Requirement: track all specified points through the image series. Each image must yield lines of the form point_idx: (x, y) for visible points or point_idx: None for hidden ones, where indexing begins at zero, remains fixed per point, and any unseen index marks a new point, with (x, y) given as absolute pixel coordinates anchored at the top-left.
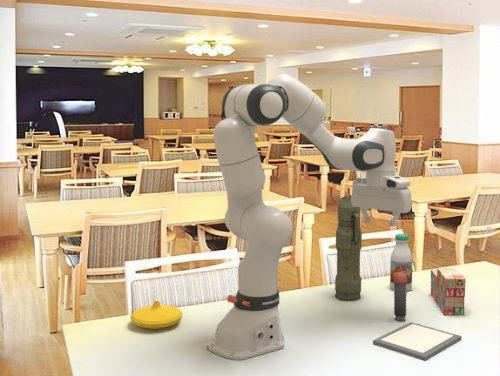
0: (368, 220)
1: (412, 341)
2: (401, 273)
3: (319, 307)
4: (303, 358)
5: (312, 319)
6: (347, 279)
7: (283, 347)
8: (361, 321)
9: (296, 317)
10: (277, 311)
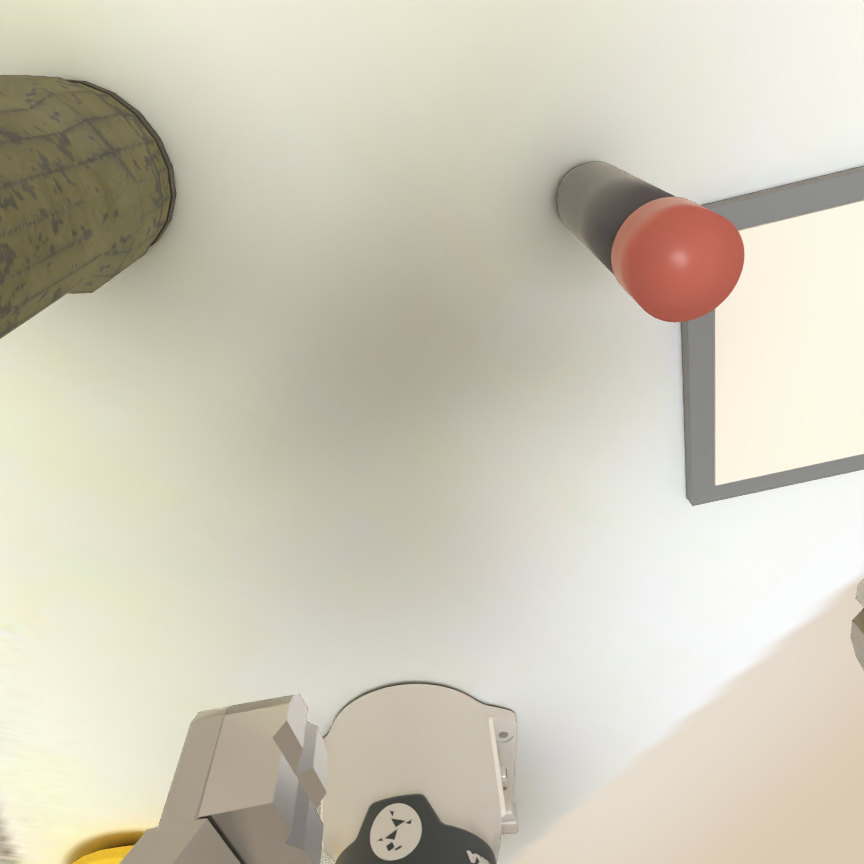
0: (317, 769)
1: (825, 398)
2: (691, 252)
3: (203, 427)
4: (607, 702)
5: (338, 533)
6: (103, 270)
7: (515, 715)
8: (479, 382)
9: (284, 569)
10: (488, 821)
